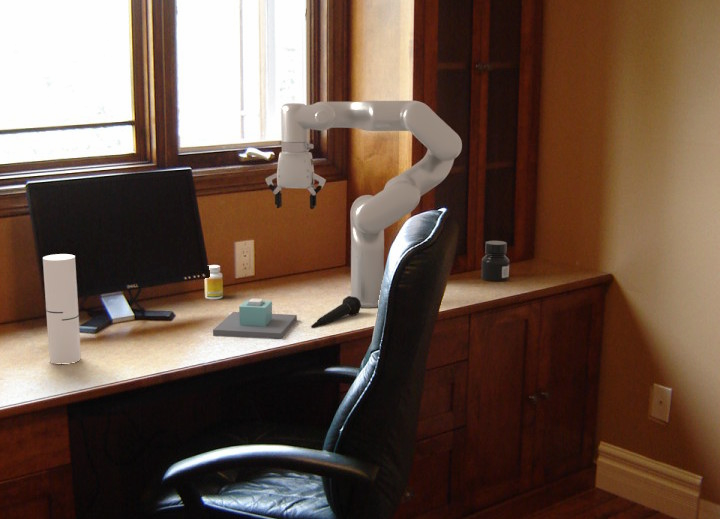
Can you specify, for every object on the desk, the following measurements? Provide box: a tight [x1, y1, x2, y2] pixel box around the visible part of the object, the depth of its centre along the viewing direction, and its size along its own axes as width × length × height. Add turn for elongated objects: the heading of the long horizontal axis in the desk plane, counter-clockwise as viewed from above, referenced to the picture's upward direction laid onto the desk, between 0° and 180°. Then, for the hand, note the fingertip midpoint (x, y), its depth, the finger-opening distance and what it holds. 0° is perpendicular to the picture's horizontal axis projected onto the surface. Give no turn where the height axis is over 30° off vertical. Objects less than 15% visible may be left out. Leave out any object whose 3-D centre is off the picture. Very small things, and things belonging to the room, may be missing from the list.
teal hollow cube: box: [238, 299, 273, 326], centre depth 256 cm, size 7×7×5 cm
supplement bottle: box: [203, 264, 224, 300], centre depth 287 cm, size 5×5×10 cm
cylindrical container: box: [42, 253, 82, 364], centre depth 226 cm, size 7×7×25 cm
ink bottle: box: [480, 240, 510, 282], centre depth 312 cm, size 10×9×12 cm
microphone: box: [310, 295, 362, 329], centre depth 264 cm, size 6×6×20 cm
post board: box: [212, 298, 298, 340], centre depth 256 cm, size 18×18×8 cm
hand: (295, 208), depth 275 cm, fingers open, 9 cm apart
